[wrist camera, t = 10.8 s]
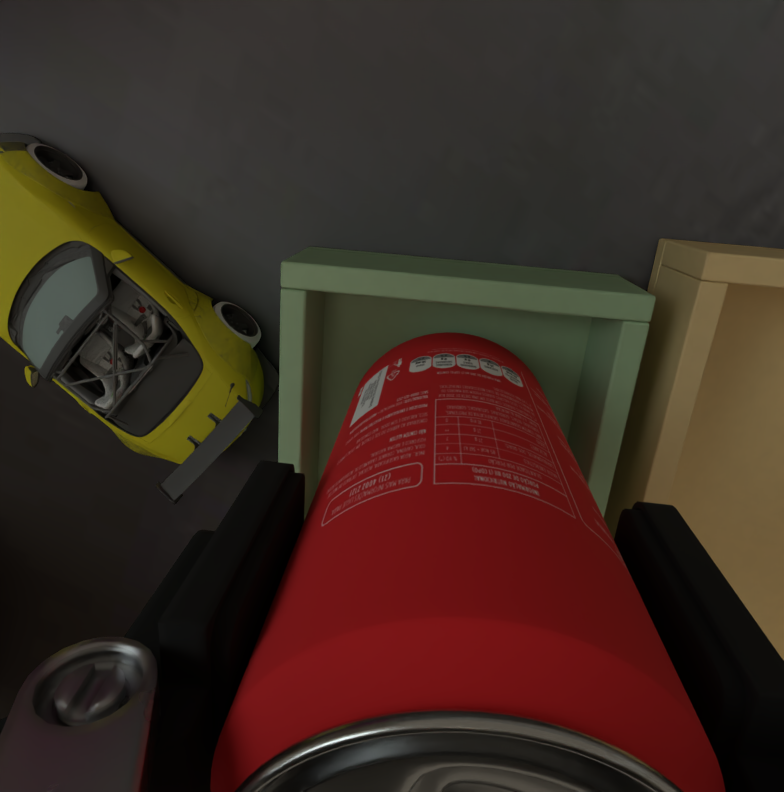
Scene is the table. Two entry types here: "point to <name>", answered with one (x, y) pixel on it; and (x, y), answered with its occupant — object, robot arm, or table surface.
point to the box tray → (714, 414)
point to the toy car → (120, 320)
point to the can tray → (457, 313)
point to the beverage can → (458, 609)
